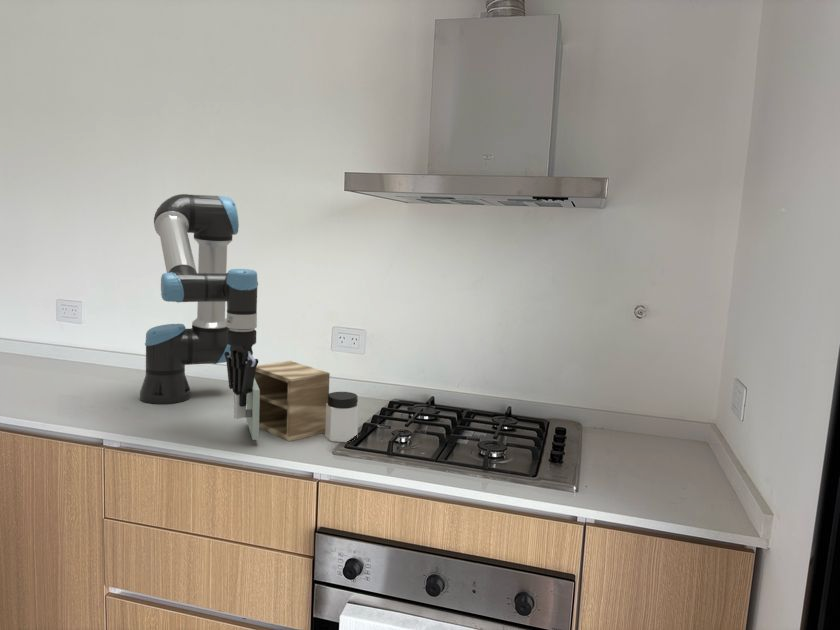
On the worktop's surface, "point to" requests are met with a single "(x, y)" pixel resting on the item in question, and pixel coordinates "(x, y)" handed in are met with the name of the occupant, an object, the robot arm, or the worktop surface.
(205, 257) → the robot arm
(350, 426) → the jar
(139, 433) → the worktop surface
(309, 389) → the cabinet
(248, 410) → the door
